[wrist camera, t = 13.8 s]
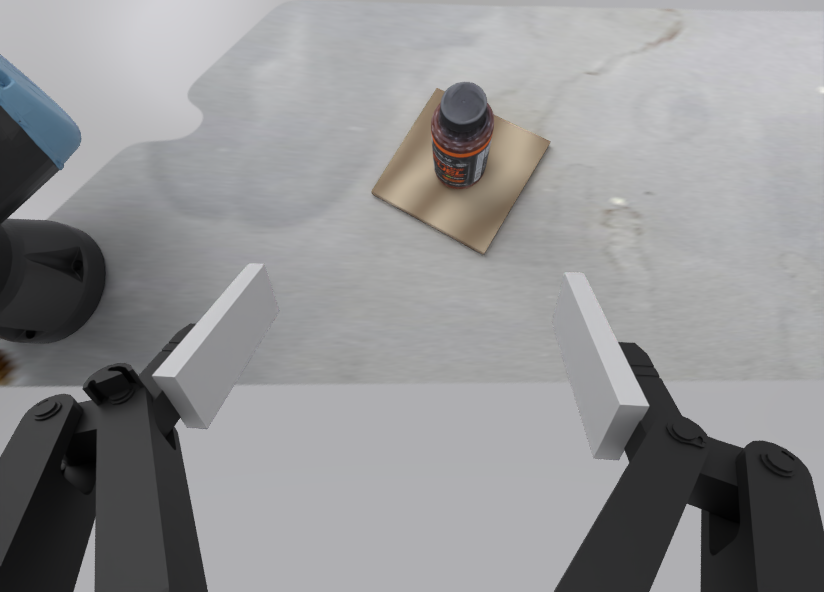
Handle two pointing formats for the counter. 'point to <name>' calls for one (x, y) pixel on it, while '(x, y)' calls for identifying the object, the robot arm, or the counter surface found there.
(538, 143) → the oak pad
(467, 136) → the supplement bottle
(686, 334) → the counter surface
